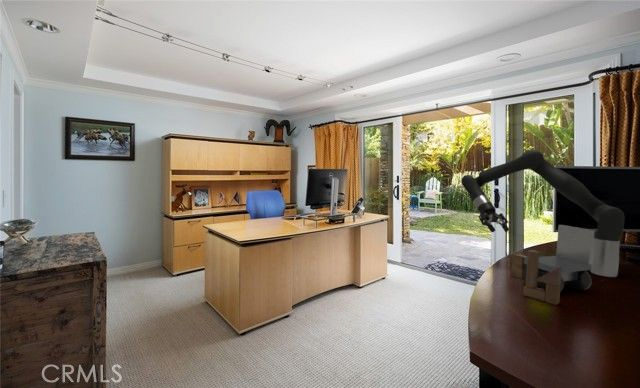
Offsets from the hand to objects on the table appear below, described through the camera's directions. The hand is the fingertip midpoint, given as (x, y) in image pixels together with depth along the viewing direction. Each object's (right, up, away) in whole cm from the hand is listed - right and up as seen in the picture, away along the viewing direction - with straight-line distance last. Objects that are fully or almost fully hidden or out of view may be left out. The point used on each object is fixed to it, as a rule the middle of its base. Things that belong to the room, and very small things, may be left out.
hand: (500, 231), depth 150 cm
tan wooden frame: (-6, -22, -35) cm, 42 cm away
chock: (+3, -20, -10) cm, 23 cm away
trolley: (+9, -21, -23) cm, 32 cm away
